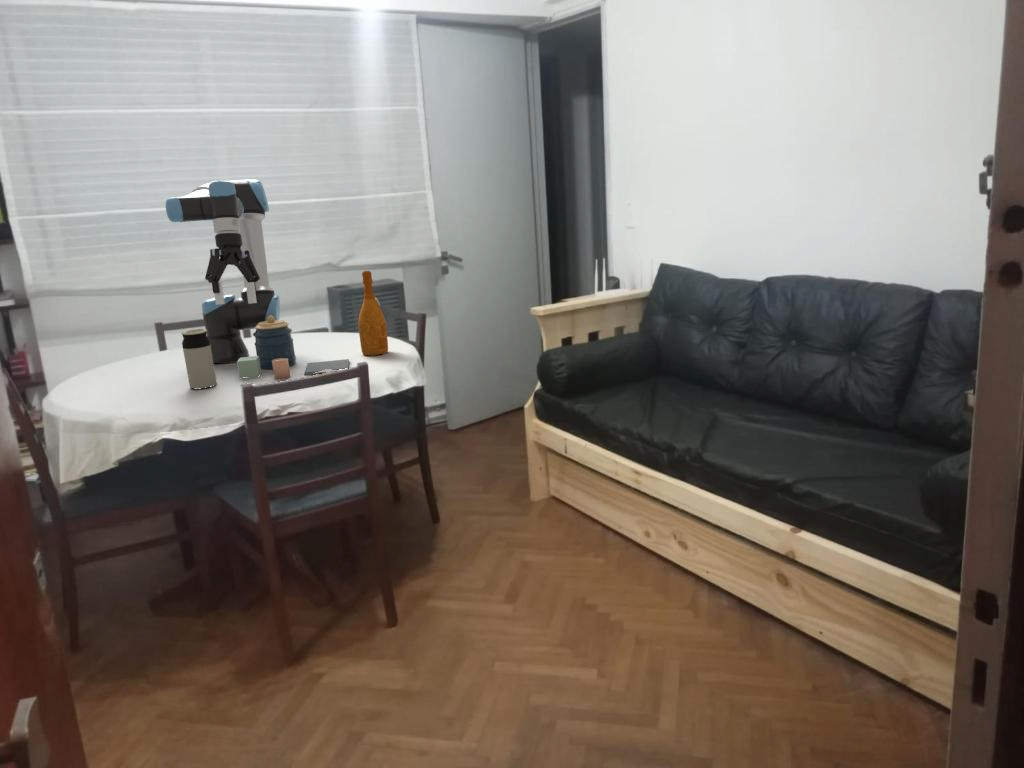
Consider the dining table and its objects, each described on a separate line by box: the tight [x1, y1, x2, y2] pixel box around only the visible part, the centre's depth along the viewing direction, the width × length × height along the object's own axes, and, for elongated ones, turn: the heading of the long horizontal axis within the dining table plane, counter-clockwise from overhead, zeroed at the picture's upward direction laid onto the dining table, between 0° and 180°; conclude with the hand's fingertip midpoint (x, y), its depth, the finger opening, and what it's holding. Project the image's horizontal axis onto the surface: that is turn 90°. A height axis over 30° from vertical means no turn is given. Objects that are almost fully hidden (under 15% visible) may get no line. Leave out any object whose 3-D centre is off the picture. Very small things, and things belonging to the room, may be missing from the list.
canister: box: [252, 315, 297, 370], centre depth 252 cm, size 13×13×18 cm
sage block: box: [236, 355, 262, 379], centre depth 240 cm, size 6×6×6 cm
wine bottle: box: [357, 270, 389, 356], centre depth 259 cm, size 10×10×30 cm
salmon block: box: [272, 358, 291, 381], centre depth 235 cm, size 5×5×6 cm
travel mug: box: [180, 328, 218, 389], centre depth 227 cm, size 8×8×18 cm
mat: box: [303, 358, 350, 376], centre depth 244 cm, size 14×14×1 cm
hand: (236, 303), depth 221 cm, fingers open, 13 cm apart
